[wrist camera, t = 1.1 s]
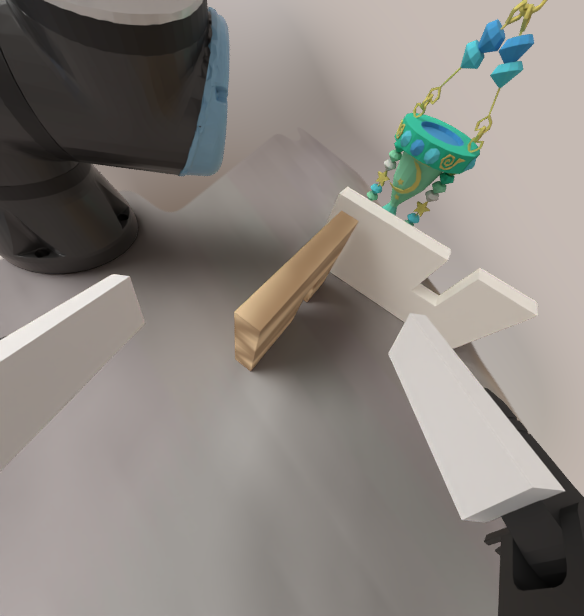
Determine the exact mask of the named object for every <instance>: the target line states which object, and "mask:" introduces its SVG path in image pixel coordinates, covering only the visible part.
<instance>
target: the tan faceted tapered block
mask: <svg viewBox="0 0 584 616" xmlns="http://www.w3.org/2000/svg"><path fill="white" fill-rule="evenodd" d="M358 222H359V221H358V220H356V219H354V218H353V217H351V216H350V215H348V214H347V213H345V212H343V211H342V210H341V211H340V212H339V213H338V214H337V215H336V216H335V217H334V218H333V219H332V220H331V221H330V222H329V223H328V224H327V225H326V226H324V227H323V228H322V229H321V230H320V231H319V232H318V233H317V234H316V235H315V236H314V237H313V238H312V239H311V240H310V241H309V242H308V243H307V244H305V245H304V246H303V247H302V248H301V249H300V250H299V251H298V252H297V253H296V254H295V255H294V256H293V257H292V258H291V259H290V260H289V261H288V262H287V263H285V264H284V265H283V266H282V267H281V268H280V269H279V270H278V271H277V272H276V273H275V274H274V275H273V276H272V277H271V278H270V279H269V280H268V281H266V282H265V283H264V284H263V285H262V286H261V287H260V288H259V289H258V290H257V291H256V292H255V293H254V294H253V295H252V296H251V297H250V298H249V299H247V300H246V301H245V302H244V303H243V304H242V305H241V306H240V307H239V308H238V309H237V310H236V311H235V312H234V318H235V359H236V360H237V361H238V362H239V363H241V364H242V365H243V366H244V367H246V368H247V369H248V370H249V371H251V370H252V369H253V368H254V367H255V366H256V364H257V363H258V362H259V361H260V359H261V358H262V357H263V356H264V355H265V353H266V352H267V351H268V350H269V348H270V347H271V346H272V345H273V344H274V342H275V341H276V340H277V339H278V337H279V336H280V335H281V334H282V333H283V331H284V330H285V329H286V328H287V326H288V325H289V324H290V323H291V322H292V320H293V319H294V317H295V315H296V313H297V311H298V309H299V307H300V305H301V303H302V301H303V300H304V301H306V302H308V301H309V299H310V298H311V297H312V296H313V295H314V293H315V292H316V291H317V290H318V288H319V287H320V286H321V285H322V284H323V282H324V281H325V279H326V277H327V275H328V274H329V272H330V270H331V268H332V267H333V265H334V263H335V262H336V260H337V258H338V256H339V255H340V253H341V251H342V249H343V248H344V246H345V244H346V243H347V241H348V239H349V237H350V236H351V234H352V232H353V230H354V229H355V227H356V225H357V224H358Z"/></svg>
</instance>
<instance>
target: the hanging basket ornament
mask: <svg viewBox="0 0 584 616" xmlns="http://www.w3.org/2000/svg"><path fill="white" fill-rule="evenodd" d="M546 1H547V0H543V1H542V3H541V4H540V5H538V6H536V7H535V6H533V5H534V4H526V3H527V0H523V1H522V2H521V3H520V4H518V5H517V6H516V7H515V8H513V10H512V11H511V13H510V15H509V17H508V19H507V20H506V22H505V23H506V24H505V25H504V26H503V27H502V25H501V23H500V21H499V20H495V21H492V22H490V23H488V24H487V25H486V28H485V30H484V32H483V35H482V37H481V40H480V42H478V41H477V40H475V41H473V42H470V43H468V44H467V45H466V49H465V53H464V56H463V60H462V64H461V67H460V68H459V69H458V70H457V71H456V72H455V73H454V74H453V75H452V76H450V77H449V78H448V79H447V80H446V81H445V82H444V83H443V84H442V85H441V86H440V87H436V88H433V89H431V90H430V92H429V93H428V95H427V97H426V99H425V100H424V101H423V102H422V104H421V103H417V104H416V106H415V108H414V110H413V113H410V114H407V115H406V116H405V118H404V119H403V120H401V123H400V126H399V128H398V131H397V133H396V135H395V139H396V141H397V142H395V143H394V144H395V148H396V150H392V151H391V152H390V153H389V155H390V159H388V160H386V161H385V162H384V164H385V168H386V171H385V172H384V173H381V172H378V175H379V178H378V179H377V180H376V181H377V182H378V181H379V184H380V183H381V186H383V185H384V182H385V181H386V180H390V179H389V178H388V177H387V171H389V170H392V169H395V168H396V162H395V161H398V160H400V162H399V165H398V167H397V169H396V172H395V174H394V180H393V185H392V184H391V183H390V184H391V186H392V196H391V201H390V203H388V204H387V205H385V206H383V207H382V208H383V209H385V210H387V211H388V212H390V213H392V214H393V215H395V216H396V209H397V206H398V205H399V204H400V203H402V202H404V201H405V200H407V199H409V198H411V197H413V196H415V195H416V194H418V193H420V192H422V191H423V190H424V189H425V188H426V187H427V186H428V185H430V184H431V183H432V182H433V181H434V180H435V179H436V178H437V177H438V176H439V175H440V181H441V182H440V181H437V182H435V183H433V184H432V187H433V190H430V191H427V192H426V194H425V195H426V199H427V202H425V203H424V204H422V203H420V202H417V207H418V208H417V209H415V210H414V211H415V212H418V213H419V215H420V217H421V216H422V214H423V212H426V211H430V210H429V209H428V208H427V207H426V206H427V203H428V202H431V201H437V200H438V197H439V194H438V193H442V192H445V190H446V185H445V184H449V183H453V181H454V175H455V174H460V173H462V172H464V171H466V170H469V169H472V168H473V167H474V165H475V161H476V158H477V157H478V156H479V155H480V149H481V147H482V145H483V143H484V141H478V140H479V139H480V138H481V137H482V135H483V134H484V133H485V132H487V131H488V130H490V127H491V125H492V120H491V116H490V114H491V111H492V108H493V106H494V103H495V101H496V98H497V96H498V93H499V91H500V88H501V87H503V86H504V85H505V84H506V83H508V82H509V81H510V80H511V79H512V78H514V77H515V76H516V75H517V74H518V73H520V72H521V71H522V70H523V65H522V61H517V60H518V59H519V58H520V57H521V56H522V55H523V54H524V53H525V52H526V51H527V50H528V49H529V48H530V47H531V46H532V45H533V44H534V40H533V35H532V34H527V35H521V34H522V32H523V31H524V30H525V29H526V27H527V25H528V23H529V20H530V18H531V15H532V14H533V13H534V12H536V11H538V10H540V9H541V7H542V6H543V5H544V4H545V2H546ZM534 7H535V8H534ZM518 9H519V11H520V12H521V13H520V14H519V15H518V16H516V17H513V18H512V16H513V15H514V13H515V12H516V11H517V10H518ZM522 16H523V17H524V19H523V23H522V26H521V30H520V34H519V36H517V37H513V38H511V39H508V40H507V41H506V42H505V44H504V45H503V46H502V47H501V49H500V50H499V53H500V55H501V58H502V60H503V62H504V64H501V65H498V67H497V68H496V69H495V70H494V71H493V73H492V74H491V75H490V76H491V77H492V79H493V80H494V82H495V83H496V84H497V86H498V87H499V89H498V91H497V95H496V97H495V99H494V102H493V104H492V107H491V110H490V112H489V115H488V116H487V117H485V118H483V119H482V120H480V121H478V122H477V125H476V128H475V131H477V130H480V131H479V133H478V134H477V136H476V137H475V138H473V139H472V140H471V139H470V138H469V137H468V136H466V135H465V134H464V133H462V132H461V131H459V130H457V129H456V128H454V127H453V126H451V125H449V124H447V123H445V122H442V121H440V120H438V119H436V118H433V117H430V116H427V115H423V114H424V113H425V109H426V106H427V105H428V104H429V102H430V103H431V104H434V103H435V102H436V101H437V100H438V99H439V97H440V92H441V87H442V86H443V85H444V84H445V83H446V82H447V81H448V80H449V79H451V78H452V77H453V76H454V75H455V74H456V73H457V72H458V71H459V70H460V69H461V68H475V69H477V68H478V67H479V66H480V64H481V62H482V60H483V59H484V53H486V52H493V51H498V49H499V48H500V46H501V44H502V43H503V41H504V39H505V33H504V30H503V28H504V27H505V26H507V25H508V24H511V23H513V22H515V21H517V20H519V19H520V18H521V17H522ZM516 61H517V62H516ZM437 89H438V97H437V98H436V99H435V100H434V101H432V97H433V94H431V92H432V91H434V90H437ZM430 94H431V95H430ZM427 100H428V101H427ZM426 101H427V102H426ZM424 104H425V105H424ZM418 106H420V107H421V109H422V110H423V112H422V113H421V114H418V113H416V108H417V107H418ZM487 118H488V120H489V126H488V127H487V129H486V127H485V126H483V127H482V128H480V129H477V128H478V126H479V124H480V122H482V121H483V120H485V119H487ZM476 142H477V143H481V144H480V147H479V148H478V146H477V145H476V144H475V143H476ZM402 151H404V152H403V155H402V154H401V152H402ZM442 172H443V173H442ZM379 184H373V185H372V186H371V189H372V191H370V192H368V193H367V196H368V199H369V200H370V201H372V200H377V198H378V195H377V193H381V192H382V187H381V186H380V185H379ZM418 213H417V214H418ZM417 214H415V213H411V214H409V215H408V220H405V222H406V223H408V224H410V225H411V226H413V227H414V224H413V223H418V222H419V216H418V215H417Z"/></svg>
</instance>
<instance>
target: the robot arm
mask: <svg viewBox="0 0 584 616" xmlns="http://www.w3.org/2000/svg"><path fill="white" fill-rule="evenodd" d="M228 82H229V33H228V26H227V23H226V21H225V19H224V18H223V17H222V16H220V15H218V14H217V12H216V10H215V9H213V8H211V7H209V8H207V0H0V256H2V257H3V258H4V259H6V260H7V261H8V262H10V263H11V264H13V265H15V266H17V267H20V268H22V269H25V270H29V271H34V272H39V273H51V274H60V273H72V272H78V271H83V270H88V269H91V268H95V267H98V266H100V265H103V264H105V263H107V262H109V261H111V260H113V259H115V258H117V257H118V256H120V255H121V254H122V253H124V252H125V251H126V250H127V249H128V248H129V247H130V246H131V245H132V243H133V242H134V240H135V238H136V236H137V233H138V223H137V220H136V217H135V215H134V213H133V211H132V209H131V207H130V205H129V204H128V202H127V201H126V200H125V199H124V197H123V196H122V195H121V194H120V193H119V192H118V191H117V190H116V189H115V188H114V187H113V186H112V185H111V184H110V183H109V181H108V180H107V179H106V178H105V177H104V176H103V175H102V174H101V173H100V172H99V171H98V170H97V169H96V168H95V167H94V165H93V164H99V165H106V166H114V167H121V168H129V169H136V170H144V171H152V172H159V173H166V174H175V175H178V176H185V175H198V176H210V175H212V174H215V173H216V172H217V171H218V170H219V168H220V167H221V164H222V160H223V154H224V145H225V137H226V136H225V135H226V125H227V96H228ZM144 324H145V321H144V318H143V315H142V312H141V308H140V305H139V302H138V299H137V296H136V293H135V290H134V287H133V284H132V281H131V278H130V276H124V275H116V274H112V275H110V276H108V277H107V278H105V279H103V280H102V281H100V282H98V283H97V284H95V285H93V286H91V287H90V288H88V289H86V290H85V291H83V292H81V293H80V294H78V295H76V296H74V297H73V298H71V299H69V300H68V301H66V302H64V303H63V304H61V305H59V306H57V307H56V308H54V309H52V310H51V311H49V312H47V313H46V314H44V315H42V316H41V317H39V318H37V319H35V320H34V321H32V322H30V323H29V324H27V325H25V326H24V327H22V328H20V329H18V330H17V331H15V332H13V333H12V334H10V335H8V336H5V337H3V338H0V472H1V471H2V470H3V468H4V467H5V466H6V465H7V464H8V463H9V462H10V461H11V460H12V459H13V458H14V457H15V456H16V455H17V454H18V453H19V452H20V451H21V450H22V449H23V448H24V447H25V446H26V445H27V444H28V443H29V442H30V441H31V440H32V439H33V438H34V437H35V436H36V435H37V434H38V433H39V432H40V431H41V430H42V429H43V428H44V427H45V426H46V425H47V423H48V422H49V421H50V420H51V419H52V418H53V417H54V416H55V415H56V414H57V413H58V412H59V411H60V410H61V409H62V408H63V407H64V406H65V405H66V404H67V403H68V402H69V401H70V400H71V399H72V398H73V397H74V396H75V395H76V394H77V393H78V392H79V391H80V390H81V389H82V388H83V387H84V386H85V385H86V384H87V383H88V382H89V381H90V380H91V378H92V377H93V376H94V375H95V374H96V373H97V372H98V371H99V370H100V369H101V368H102V367H103V366H104V365H105V364H106V363H107V362H108V361H109V360H110V359H111V358H112V357H113V356H114V355H115V354H116V353H117V352H118V351H119V350H120V349H121V348H122V347H123V346H124V345H125V344H126V343H127V342H128V341H129V340H130V339H131V338H132V337H133V336H134V334H135V333H136V332H137V331H138V330H139V329H140V328H141V327H142V326H143V325H144ZM388 354H389V356H390V359H391V361H392V363H393V366H394V368H395V370H396V372H397V375H398V377H399V379H400V381H401V384H402V386H403V388H404V390H405V393H406V395H407V397H408V400H409V402H410V404H411V406H412V409H413V411H414V413H415V415H416V418H417V420H418V422H419V424H420V427H421V429H422V431H423V433H424V436H425V438H426V440H427V443H428V445H429V447H430V449H431V452H432V454H433V456H434V458H435V461H436V463H437V465H438V467H439V470H440V472H441V474H442V477H443V479H444V481H445V483H446V486H447V488H448V490H449V492H450V495H451V497H452V499H453V501H454V504H455V506H456V508H457V510H458V513H459V515H460V517H461V520H466V521H476V522H489V521H492V520H494V519H497V518H499V517H502V519H503V521H504V522H505V524H506V526H507V528H504V529H501V530H498V531H495V532H492V533H490V534H488V535H486V538H485V540H484V542H485V543H486V544H487V545H491V544H495V543H498V542H501V546H500V547H498V548H497V549H495V551H496V552H497V553H498V554H499V555H500V580H499V606H498V616H584V497H583V496H582V495H581V494H580V493H579V492H578V490H577V489H576V488H575V487H574V486H573V485H572V484H571V482H570V481H569V480H568V479H567V478H566V476H565V475H564V474H563V473H562V471H561V470H560V469H559V468H558V467H557V466H556V464H555V463H554V462H553V461H552V459H551V458H550V457H549V456H548V455H547V453H546V452H545V451H544V450H543V449H542V447H541V446H540V445H539V444H538V443H537V441H536V440H535V439H534V438H533V437H532V435H531V434H528V433H527V429H526V428H525V427H524V426H523V425H522V423H521V422H520V421H517V419H516V418H517V417H516V416H515V415H514V414H513V413H512V411H511V410H510V409H509V408H508V407H507V405H506V404H505V403H504V402H503V401H502V400H501V399H499V398H498V397H497V396H496V395H495V394H494V393H492V392H491V391H490V390H489V389H487V388H483V387H482V385H481V384H480V383H479V382H478V380H477V379H476V378H475V377H474V375H473V374H472V373H471V372H470V370H469V369H468V368H467V367H466V365H465V364H464V363H463V362H462V360H461V359H460V358H459V357H458V355H457V354H456V353H455V351H454V350H453V349H452V348H451V346H450V345H449V344H448V343H447V341H446V340H445V339H444V338H443V336H442V335H441V334H440V333H439V331H438V330H437V329H436V328H435V326H434V325H433V324H432V323H431V321H430V320H429V319H428V318H427V316H426V315H420V314H413V313H410V314H409V316H408V318H407V320H406V322H405V323H404V325H403V327H402V329H401V331H400V333H399V334H398V336H397V338H396V340H395V342H394V344H393V346H392V347H391V349H390V351H389V353H388Z"/></svg>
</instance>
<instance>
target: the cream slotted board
mask: <svg viewBox="0 0 584 616" xmlns="http://www.w3.org/2000/svg"><path fill="white" fill-rule="evenodd" d="M341 210H342V211H343V212H345V213H347V214H348V215H350V216H351V217H353V218H354V219H356V220H358V221H359V222H358V224H357V225H356V227H355V229H354V230H353V232H352V234H351V236H350V237H349V239H348V241H347V243H346V244H345V246H344V248H343V249H342V251H341V253H340V255H339V256H338V258H337V260H336V262H335V263H334V265H333V267H332V268H331V270H330V272H331V273H332V274H334V275H335V276H337V277H338V278H340V279H341V280H343V281H344V282H346V283H347V284H349V285H350V286H351V287H353V288H354V289H356V290H357V291H359V292H360V293H362V294H363V295H365V296H366V297H368V298H369V299H371V300H372V301H374V302H375V303H376V304H378V305H379V306H381V307H382V308H384V309H385V310H387V311H388V312H390V313H391V314H393V315H394V316H396V317H397V318H399V319H400V320H401V321H403V322H404V323H405V322H406V320H407V318H408V316H409V314H410V313H413V314H420V315H426V316H427V318H428V319H429V320H430V321H431V323H432V324H433V325H434V326H435V328H436V329H437V330H438V331H439V333H440V334H441V335H442V336H443V338H444V339H445V340H446V341H447V343H448V344H449V345H450V346H451V348H452V349H454V348H457V347H459V346H462V345H464V344H467V343H469V342H472V341H475V340H477V339H480V338H482V337H485V336H488V335H490V334H493V333H495V332H498V331H500V330H503V329H506V328H508V327H511V326H513V325H516V324H519V323H521V322H524V321H526V320H529V319H532V318H534V317H537V316H538V311H537V302H536V301H534V300H533V299H531V298H529V297H528V296H526V295H524V294H523V293H521V292H519V291H518V290H516V289H515V288H513V287H511V286H510V285H508V284H506V283H505V282H503V281H501V280H500V279H498V278H497V277H495V276H493V275H492V274H490V273H488V272H487V271H485V270H484V269H482V268H479V269H478V270H476V271H474V272H473V273H472V274H470V275H469V276H467V277H466V278H464V279H463V280H461V281H460V282H458V283H457V284H455V285H454V286H452V287H451V288H449V289H448V290H446V291H445V292H444V293H442V294H440V295H437V294H436V293H434V292H433V291H431V290H429V289H428V288H426V287H425V286H423V285H422V284H420V283H421V282H422V281H424V280H425V279H426V278H427V277H428V276H430V275H431V274H432V273H433V272H435V271H436V270H437V269H438V268H439V267H441V266H442V265H443V264H444V263H446V262H447V261H448V259H449V256H450V253H451V249H449V248H447V247H446V246H444V245H442V244H441V243H439V242H438V241H436V240H434V239H433V238H431V237H429V236H428V235H426V234H424V233H423V232H421V231H420V230H418V229H416V228H415V227H413V226H411V225H410V224H408V223H406V222H405V221H403V220H401V219H400V218H398V217H397V216H395V215H393V214H392V213H390V212H388V211H387V210H385V209H383V208H382V207H380V206H379V205H377V204H375V203H374V202H372V201H370V200H369V199H367V198H365V197H364V196H362V195H360V194H359V193H357V192H356V191H354V190H352V189H351V188H349V187H346V188H345V189H344V190H343V191H342V192H340V193H339V195H338V198H337V200H336V202H335V205H334V207H333V209H332V212H331V214H330V216H329V219H328V221H327V223H326V225H327V224H328V223H329V222H330V221H331V220H332V219H333V218H334V217H335V216H336V215H337V214H338V213H339V212H340V211H341Z"/></svg>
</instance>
